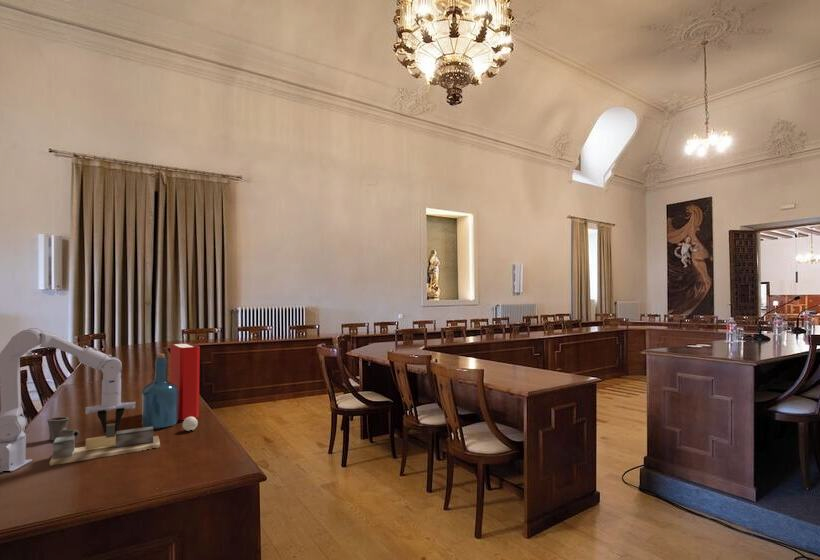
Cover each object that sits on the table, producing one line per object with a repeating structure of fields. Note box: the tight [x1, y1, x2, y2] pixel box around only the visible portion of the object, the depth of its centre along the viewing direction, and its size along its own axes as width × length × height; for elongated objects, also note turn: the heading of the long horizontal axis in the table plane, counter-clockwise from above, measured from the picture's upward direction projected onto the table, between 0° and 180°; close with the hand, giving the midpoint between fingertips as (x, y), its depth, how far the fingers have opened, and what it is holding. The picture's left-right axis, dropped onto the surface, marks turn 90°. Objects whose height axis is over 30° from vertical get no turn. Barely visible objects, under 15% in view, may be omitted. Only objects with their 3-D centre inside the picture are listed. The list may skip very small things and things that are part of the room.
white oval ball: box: [182, 416, 201, 432], centre depth 179 cm, size 8×6×6 cm
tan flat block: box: [85, 422, 116, 450], centre depth 157 cm, size 20×3×7 cm, turn 122°
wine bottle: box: [141, 353, 179, 430], centre depth 187 cm, size 14×13×30 cm
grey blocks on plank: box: [49, 426, 161, 467], centre depth 156 cm, size 31×12×6 cm, turn 122°
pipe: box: [46, 416, 80, 442], centre depth 168 cm, size 6×13×8 cm, turn 77°
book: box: [169, 341, 201, 421], centre depth 206 cm, size 27×8×32 cm, turn 37°
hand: (110, 431), depth 156 cm, fingers closed on tan flat block, 2 cm apart
